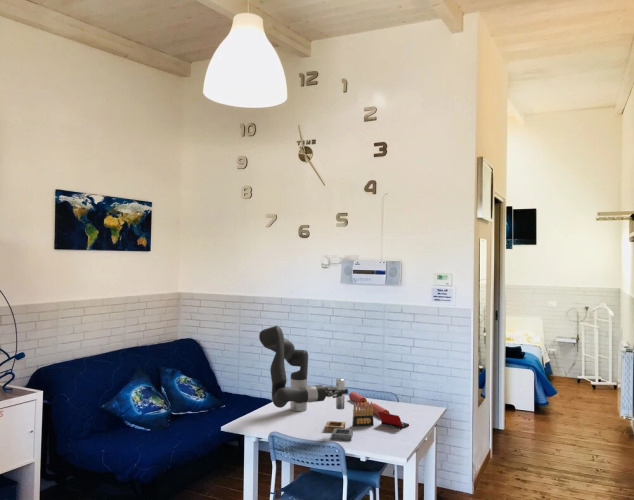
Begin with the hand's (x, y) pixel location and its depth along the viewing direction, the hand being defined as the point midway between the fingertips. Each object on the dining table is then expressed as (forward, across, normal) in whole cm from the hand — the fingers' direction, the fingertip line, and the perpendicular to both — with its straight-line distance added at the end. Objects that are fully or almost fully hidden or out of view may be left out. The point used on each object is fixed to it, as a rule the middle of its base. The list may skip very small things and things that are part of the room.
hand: (345, 390), depth 264 cm
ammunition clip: (+13, +6, +21) cm, 25 cm away
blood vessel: (+32, +32, +22) cm, 50 cm away
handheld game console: (+28, -1, +21) cm, 35 cm away
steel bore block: (-5, -6, +20) cm, 22 cm away
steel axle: (-3, 0, +8) cm, 9 cm away
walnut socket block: (-2, +6, +20) cm, 21 cm away
